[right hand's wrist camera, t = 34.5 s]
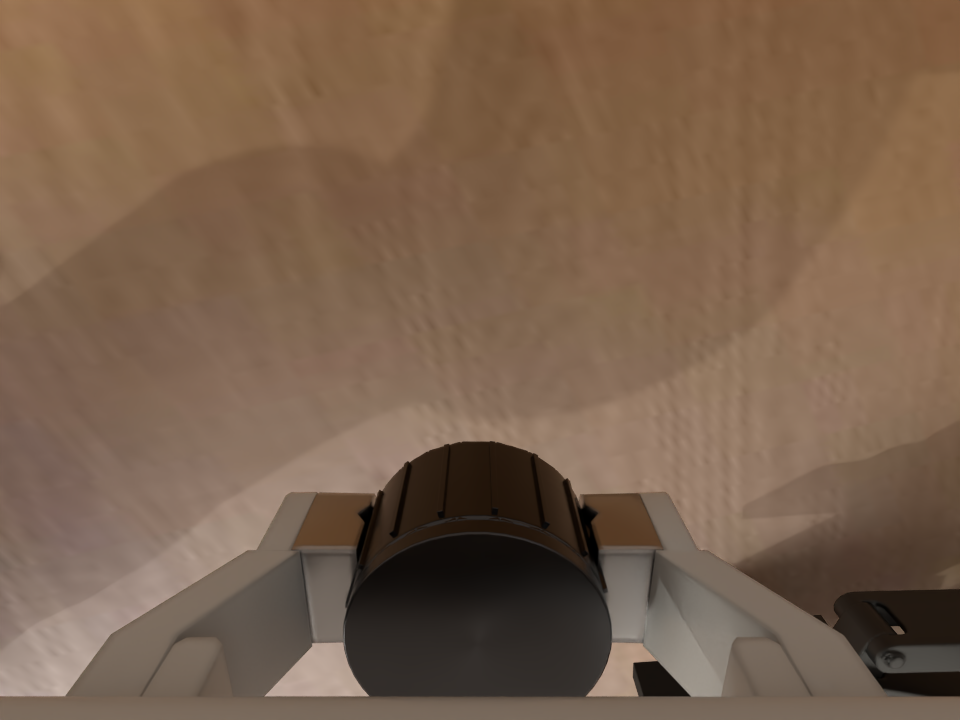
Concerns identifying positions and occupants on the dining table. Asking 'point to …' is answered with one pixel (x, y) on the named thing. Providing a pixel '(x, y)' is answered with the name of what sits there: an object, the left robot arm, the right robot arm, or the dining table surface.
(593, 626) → the cap
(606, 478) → the dining table surface
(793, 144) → the dining table surface
